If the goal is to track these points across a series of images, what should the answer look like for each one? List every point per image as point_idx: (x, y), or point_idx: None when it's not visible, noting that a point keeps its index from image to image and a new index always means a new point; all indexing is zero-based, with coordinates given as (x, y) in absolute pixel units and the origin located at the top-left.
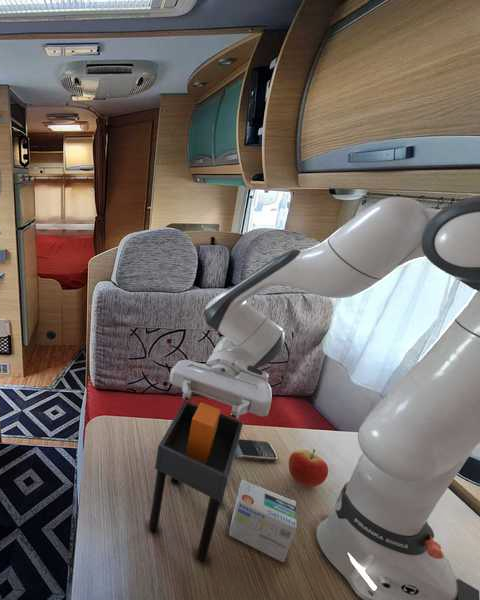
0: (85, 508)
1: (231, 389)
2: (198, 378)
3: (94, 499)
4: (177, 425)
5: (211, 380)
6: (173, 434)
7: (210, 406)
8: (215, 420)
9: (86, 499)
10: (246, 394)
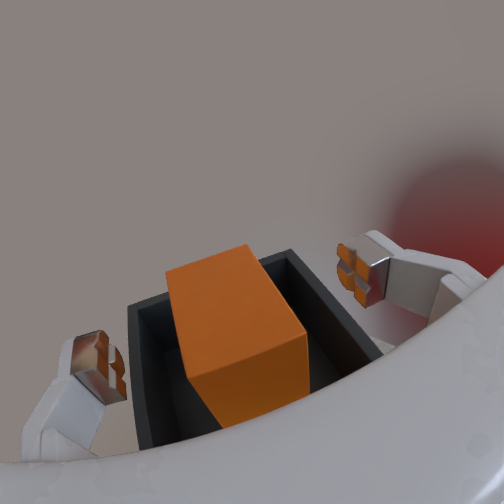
0: (374, 338)
1: (132, 481)
2: (465, 321)
3: (383, 353)
4: (356, 366)
5: (399, 427)
6: (334, 345)
7: (243, 350)
8: (173, 299)
9: (387, 343)
10: (19, 481)
